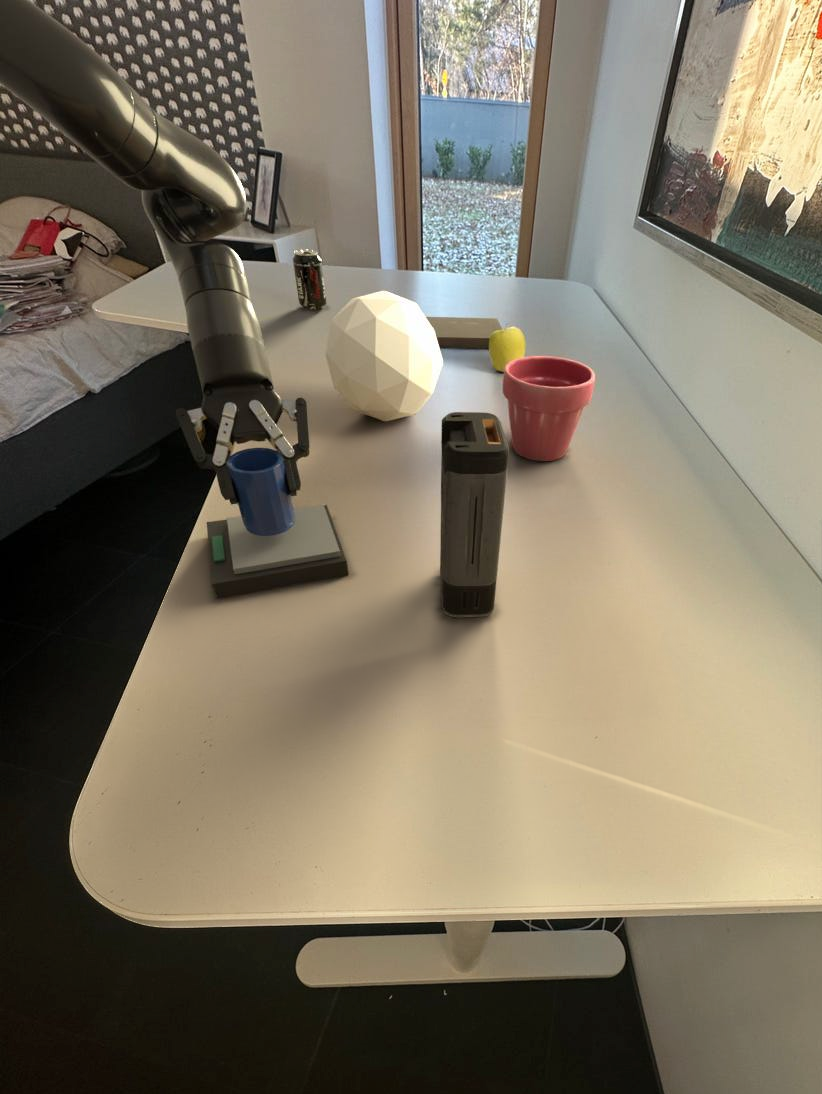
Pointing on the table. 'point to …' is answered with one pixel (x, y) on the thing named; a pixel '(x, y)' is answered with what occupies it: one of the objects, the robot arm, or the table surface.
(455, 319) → the hardcover book
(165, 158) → the robot arm
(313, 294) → the beverage can
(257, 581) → the kitchen scale
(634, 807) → the table surface
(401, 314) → the geometric sculpture
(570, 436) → the flower pot
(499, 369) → the apple
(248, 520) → the cup
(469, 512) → the electronic device
